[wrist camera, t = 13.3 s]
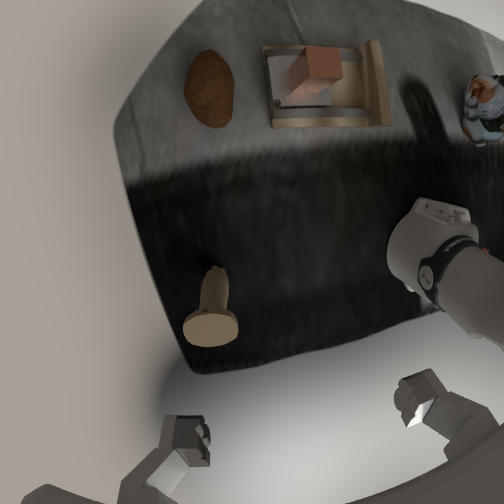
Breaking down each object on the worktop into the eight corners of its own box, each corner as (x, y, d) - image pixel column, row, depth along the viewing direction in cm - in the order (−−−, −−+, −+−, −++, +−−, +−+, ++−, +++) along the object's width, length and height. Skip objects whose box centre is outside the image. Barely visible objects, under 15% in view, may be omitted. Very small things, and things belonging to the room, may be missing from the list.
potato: (197, 135, 36) (189, 133, 30) (180, 65, 32) (170, 51, 26) (243, 123, 36) (245, 118, 30) (225, 54, 32) (223, 37, 25)
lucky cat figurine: (465, 152, 38) (493, 134, 25) (439, 99, 38) (457, 68, 26) (511, 138, 33) (541, 120, 20) (486, 88, 33) (509, 60, 20)
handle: (239, 282, 45) (241, 342, 32) (201, 289, 46) (190, 349, 32) (233, 256, 44) (232, 309, 30) (194, 263, 44) (177, 318, 30)
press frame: (361, 52, 32) (379, 41, 26) (371, 126, 37) (391, 125, 31) (261, 48, 32) (266, 33, 26) (271, 128, 37) (278, 125, 31)
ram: (319, 61, 31) (350, 35, 21) (325, 107, 34) (360, 95, 23) (263, 62, 31) (274, 31, 20) (269, 109, 34) (283, 94, 23)
